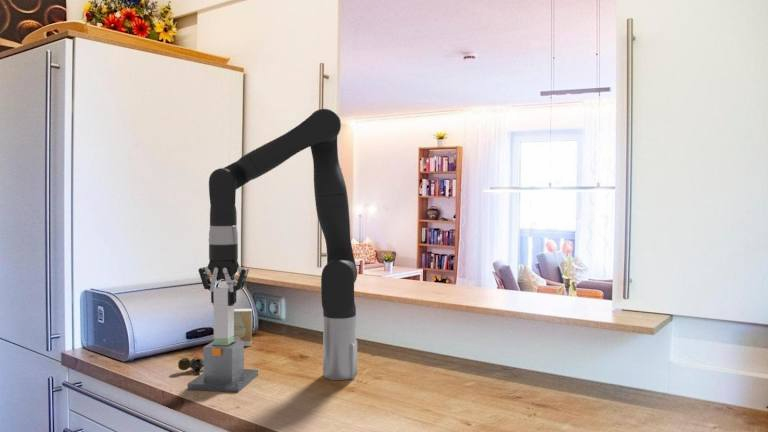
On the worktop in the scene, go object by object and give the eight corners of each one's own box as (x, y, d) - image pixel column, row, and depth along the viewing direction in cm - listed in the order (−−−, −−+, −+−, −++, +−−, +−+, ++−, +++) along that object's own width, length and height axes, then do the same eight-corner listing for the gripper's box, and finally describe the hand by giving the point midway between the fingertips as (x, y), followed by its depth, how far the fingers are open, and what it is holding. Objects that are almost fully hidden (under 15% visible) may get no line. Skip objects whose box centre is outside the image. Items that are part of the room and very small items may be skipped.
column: (234, 351, 152) (233, 286, 151) (227, 355, 148) (227, 288, 147) (220, 350, 152) (219, 285, 152) (213, 354, 148) (213, 288, 148)
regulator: (230, 367, 165) (178, 363, 161) (232, 356, 164) (180, 351, 160) (229, 383, 158) (174, 379, 154) (231, 372, 157) (176, 367, 153)
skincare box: (232, 347, 185) (232, 311, 185) (233, 343, 190) (233, 308, 189) (251, 346, 187) (251, 310, 186) (252, 342, 191) (252, 308, 190)
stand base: (258, 375, 156) (257, 338, 156) (238, 392, 142) (238, 351, 142) (211, 372, 158) (211, 336, 158) (187, 389, 144) (187, 349, 144)
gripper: (253, 241, 152) (253, 303, 152) (205, 240, 154) (205, 301, 154) (243, 243, 144) (243, 308, 145) (192, 243, 146) (192, 307, 147)
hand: (223, 304), depth 149 cm, fingers closed on column, 4 cm apart
